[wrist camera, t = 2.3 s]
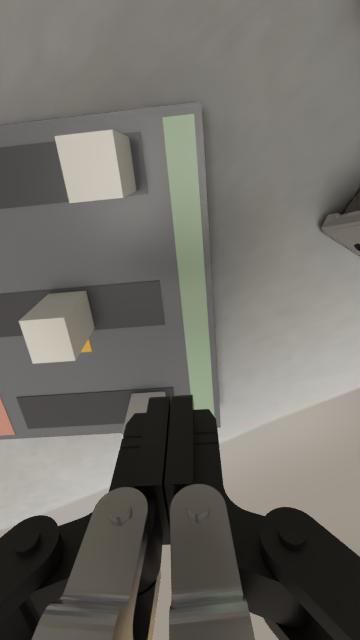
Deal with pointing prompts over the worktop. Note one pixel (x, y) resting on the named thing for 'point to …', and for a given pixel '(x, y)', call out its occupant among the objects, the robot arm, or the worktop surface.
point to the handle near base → (96, 165)
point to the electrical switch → (345, 226)
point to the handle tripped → (58, 327)
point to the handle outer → (139, 404)
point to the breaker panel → (107, 274)
